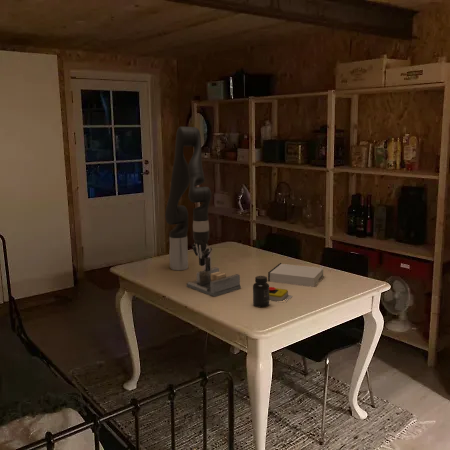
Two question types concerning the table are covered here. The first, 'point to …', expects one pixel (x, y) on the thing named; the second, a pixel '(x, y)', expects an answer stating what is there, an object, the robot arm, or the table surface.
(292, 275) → the disc drive
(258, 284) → the supplement bottle
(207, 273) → the jaw
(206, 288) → the press
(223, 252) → the table surface
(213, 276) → the maple block
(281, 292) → the emergency button
